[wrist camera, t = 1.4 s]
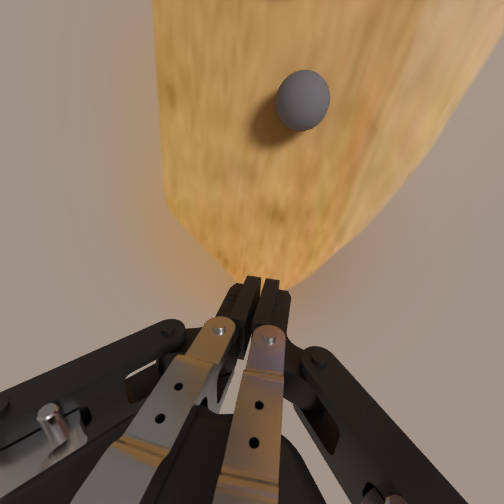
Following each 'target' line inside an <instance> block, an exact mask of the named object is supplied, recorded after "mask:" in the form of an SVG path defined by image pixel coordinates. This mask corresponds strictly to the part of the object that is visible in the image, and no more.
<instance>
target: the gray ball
mask: <svg viewBox="0 0 504 504" xmlns="http://www.w3.org/2000/svg"><path fill="white" fill-rule="evenodd" d="M329 102H330V93H329V89H328V86H327V83H326V82H325V80H324V79H323V78H322V77H321V76H320V75H319V74H318V73H316V72H314V71H310V70H300V71H297V72H294V73H292V74H291V75H289V76H288V77H287V78H286V79H285V80H284V81H283V82H282V84H281V85H280V87H279V89H278V92H277V96H276V111H277V114H278V117H279V119H280V120H281V122H282V123H283V124H284V125H285V126H286V127H288V128H290V129H292V130H295V131H306V130H309V129H312V128H313V127H315V126H316V125H318V124H319V123H320V122H321V121H322V119H323V118H324V116H325V115H326V113H327V110H328V107H329Z"/></svg>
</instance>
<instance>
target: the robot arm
mask: <svg viewBox="0 0 504 504" xmlns="http://www.w3.org/2000/svg"><path fill="white" fill-rule="evenodd" d="M260 289H261V277H254V276H247V277H246V280H245V282H244V284H239V283H236V284H235V285H233V286H232V287H231V288H230V289H229V291H228V293H227V295H226V297H225V299H224V301H223V303H222V305H221V307H220V309H219V311H218V312H217V314H216V316H215V317H214V318H211V319H209V320H208V321H207V322H206V323H205V324H204V326H203V327H200V328H189V329H185V326H184V324H183V323H182V322H181V321H179V320H176V319H167V320H163V321H161V322H159V323H156V324H154V325H152V326H149V327H147V328H145V329H143V330H140V331H138V332H136V333H134V334H132V335H129V336H127V337H125V338H122V339H120V340H118V341H116V342H113V343H111V344H109V345H107V346H104V347H102V348H100V349H97V350H95V351H93V352H91V353H88V354H86V355H84V356H82V357H79V358H77V359H75V360H73V361H70V362H68V363H66V364H64V365H61V366H59V367H57V368H54V369H52V370H50V371H48V372H45V373H43V374H41V375H39V376H36V377H34V378H32V379H30V380H27V381H25V382H23V383H21V384H18V385H16V386H14V387H12V388H9V389H7V390H5V391H2V392H0V504H326V502H325V500H324V498H323V496H322V494H321V493H320V491H319V489H318V487H317V485H316V483H315V481H314V479H313V477H312V475H311V474H310V472H309V470H308V468H307V466H306V464H305V462H304V460H303V459H302V457H301V455H300V454H299V452H298V451H297V449H296V448H295V447H294V446H293V445H292V443H291V442H290V441H289V440H288V439H286V438H285V437H284V436H283V435H281V426H282V408H283V398H285V399H286V400H288V401H290V402H292V403H293V406H294V409H295V411H296V413H297V415H298V416H299V418H300V420H301V421H302V423H303V425H304V426H305V428H306V429H307V431H308V433H309V434H310V436H311V438H312V439H313V441H314V443H315V444H316V446H317V448H318V449H319V451H320V452H321V454H322V456H323V457H324V459H325V461H326V462H327V464H328V466H329V467H330V469H331V471H332V472H333V474H334V475H335V477H336V479H337V480H338V482H339V484H340V485H341V487H342V489H343V490H344V492H345V494H346V495H347V497H348V499H349V500H350V502H351V503H352V504H468V503H467V502H466V501H465V500H464V498H462V496H461V495H460V494H459V493H458V492H457V491H456V490H455V489H454V487H452V485H451V484H450V483H449V482H448V481H447V480H446V479H445V478H444V476H443V475H442V474H441V473H440V472H439V471H438V470H437V469H436V468H435V466H434V465H433V464H432V463H431V462H430V461H429V460H428V459H427V458H426V456H425V455H424V454H423V453H422V452H421V451H420V450H419V449H418V448H417V447H416V445H415V444H414V443H413V442H412V441H411V440H410V439H409V438H408V437H407V436H406V434H405V433H404V432H403V431H402V430H401V429H400V428H399V427H398V426H397V425H396V423H395V422H394V421H393V420H392V419H391V418H390V417H389V416H388V415H387V413H386V412H385V411H384V410H383V409H382V408H381V407H380V406H379V405H378V404H377V402H376V401H375V400H374V399H373V398H372V397H371V396H370V395H369V394H368V392H366V390H365V389H364V388H363V387H362V386H361V385H360V384H359V382H358V381H357V380H356V379H355V378H354V377H353V376H352V375H351V374H350V373H349V371H348V370H347V369H346V368H345V367H344V366H343V365H342V364H341V363H340V362H339V360H338V359H337V358H336V357H335V356H334V355H333V354H332V353H331V352H330V351H328V350H327V349H324V348H322V347H318V346H312V347H308V348H306V349H305V350H303V349H300V348H299V347H297V346H295V345H294V344H293V343H291V341H290V340H289V339H288V337H287V324H288V317H289V310H290V302H291V296H290V294H289V292H288V291H284V290H279V280H274V279H268V278H266V280H265V283H264V286H263V289H262V292H261V296H260ZM251 333H252V336H251ZM250 337H251V346H250V350H249V355H248V360H247V365H246V369H245V370H244V371H243V374H242V379H241V384H240V388H239V392H238V397H237V401H236V406H235V410H234V414H219V411H220V408H221V406H222V403H223V400H224V398H225V395H226V393H227V390H228V388H229V385H230V383H231V380H232V377H233V375H234V368H235V366H236V362H237V359H242V360H244V356H245V354H246V350H247V347H248V343H249V340H250ZM154 360H156V363H155V364H153V365H151V366H150V367H148V368H146V369H144V370H142V371H140V372H138V373H137V374H134V375H133V376H131V377H129V378H127V379H125V378H126V377H127V376H128V375H129V374H130V373H132V372H134V371H135V370H137V369H139V368H141V367H143V366H145V365H147V364H149V363H151V362H153V361H154Z"/></svg>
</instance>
